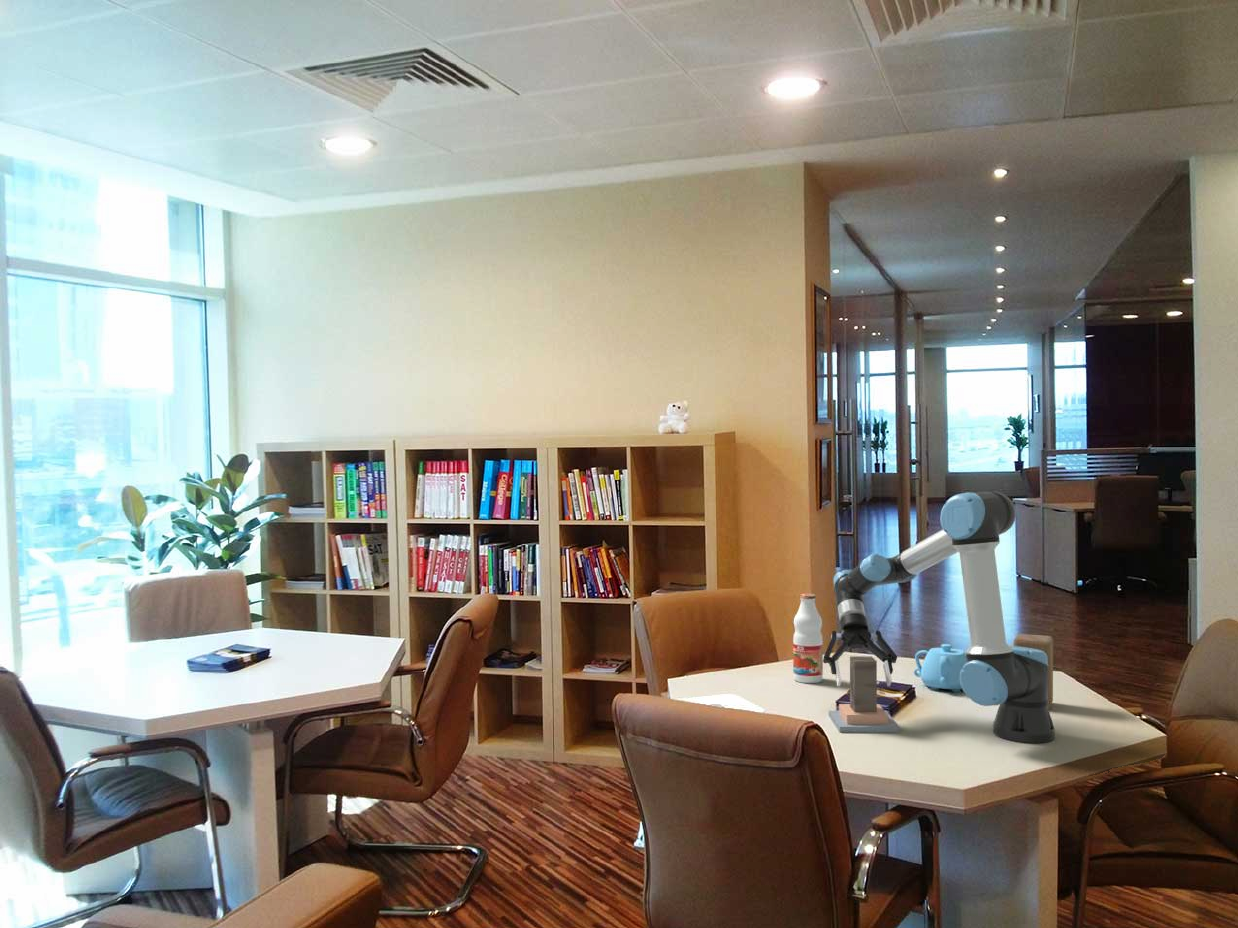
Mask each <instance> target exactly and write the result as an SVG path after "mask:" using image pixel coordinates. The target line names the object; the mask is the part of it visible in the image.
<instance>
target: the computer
mask: <svg viewBox="0 0 1238 928" xmlns="http://www.w3.org/2000/svg"><path fill="white" fill-rule="evenodd" d="M676 699H677V698H676ZM677 700H685V701H690V702H695V703H700V704H706V705H712V706H718V707H725V708H734V709H743V710H750V711H755V712H761V713H765V712H766V710H765V708H763V707H760V706H759V705H756V704H754V703H752V702H750V701H748V700H747V699H745V698H743V697H741V696H739V695H737V694H732V693H730V694H729V693H726V694H714V695H707V696H706V695H704V696H697V697H696V696H695V697H688V698H687V697H686V698H678V699H677Z"/></svg>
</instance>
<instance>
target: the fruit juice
mask: <svg viewBox="0 0 1238 928" xmlns="http://www.w3.org/2000/svg"><path fill="white" fill-rule="evenodd" d="M799 599H800V603H799V604H800V605H799V608H798V610H797V613H796V614H795V616H794V618H793V625H794V633H793V637H792V638H793V639H792V641H793V643H792V644H793V645H792V648H793V650H792V653H793V661H792V663H793V664H792V666H793V669H792V671H793V676H792V677H793V680H794V681H795V682H798V683H803V684H817V683H818V684H819V683H820V682H822V681H823V677H824V676H823V675H824V670H823V668H824V667H823V664H824V663H823V658H824V655H823V653H824V652H823V649H824V648H823V646H824V645H823V642H824V641H823V639H824V638H823V634H822V631H821V630H822V626H823V620H822V617H821V615H820V613H819V612H818V608H817V606H816V602H815V601H816V594H815V593H800V596H799Z"/></svg>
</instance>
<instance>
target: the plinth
mask: <svg viewBox="0 0 1238 928" xmlns="http://www.w3.org/2000/svg"><path fill="white" fill-rule="evenodd" d="M828 717H829V718H830V720H831V721H832V723H833V724H834V726H835V727H836V729H837V731H838V732H839V733H901V730H900V729H901V726H900V725H899V724H898V723H897V722H896V721H895V719H894V718H893V717H892V716H891V715H890V714H889V712H887V710H884V709H883V707H882V706H881V705H880V704H878V703H877V712H854V711H853V710H852V708H851V707H850V703H839V704H838V710H828Z"/></svg>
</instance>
